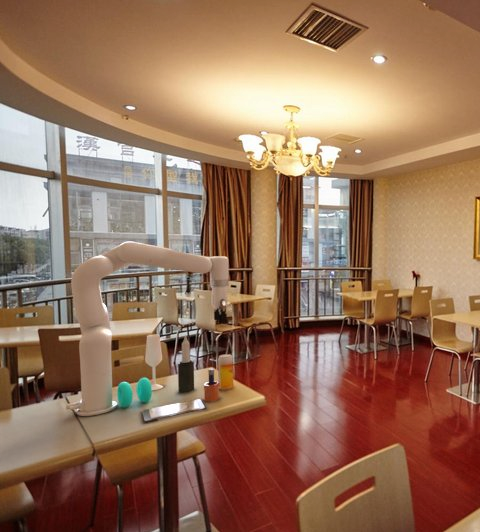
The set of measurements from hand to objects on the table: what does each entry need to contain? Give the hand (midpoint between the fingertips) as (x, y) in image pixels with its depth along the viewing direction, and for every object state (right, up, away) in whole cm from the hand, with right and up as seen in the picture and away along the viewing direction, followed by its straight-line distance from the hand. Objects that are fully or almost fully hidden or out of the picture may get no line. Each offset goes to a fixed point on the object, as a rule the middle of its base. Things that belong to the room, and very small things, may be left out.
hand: (220, 321), depth 176 cm
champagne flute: (-30, -31, 0) cm, 43 cm away
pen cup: (+3, -31, -14) cm, 34 cm away
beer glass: (+3, -31, 0) cm, 31 cm away
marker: (+3, -30, -14) cm, 34 cm away
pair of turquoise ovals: (-26, -31, -19) cm, 45 cm away
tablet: (-6, -31, -25) cm, 41 cm away
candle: (-13, -31, -4) cm, 34 cm away
